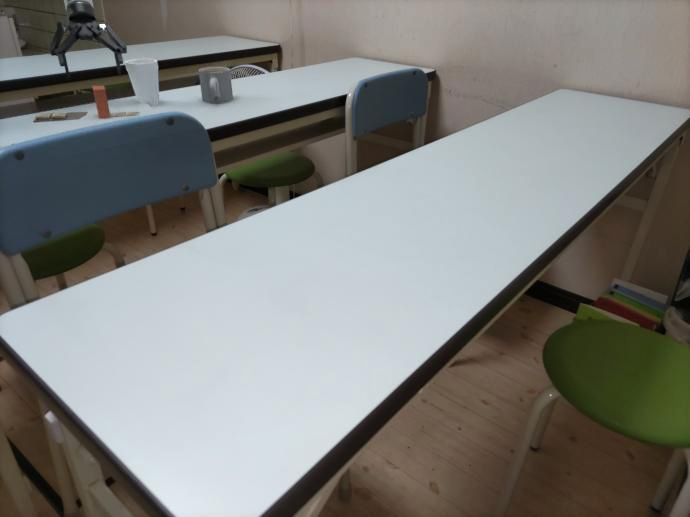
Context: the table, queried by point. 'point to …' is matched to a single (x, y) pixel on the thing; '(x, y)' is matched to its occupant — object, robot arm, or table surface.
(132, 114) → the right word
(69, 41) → the robot arm
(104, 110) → the orange rectangular block
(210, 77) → the coffee mug
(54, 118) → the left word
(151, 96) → the foam cup
